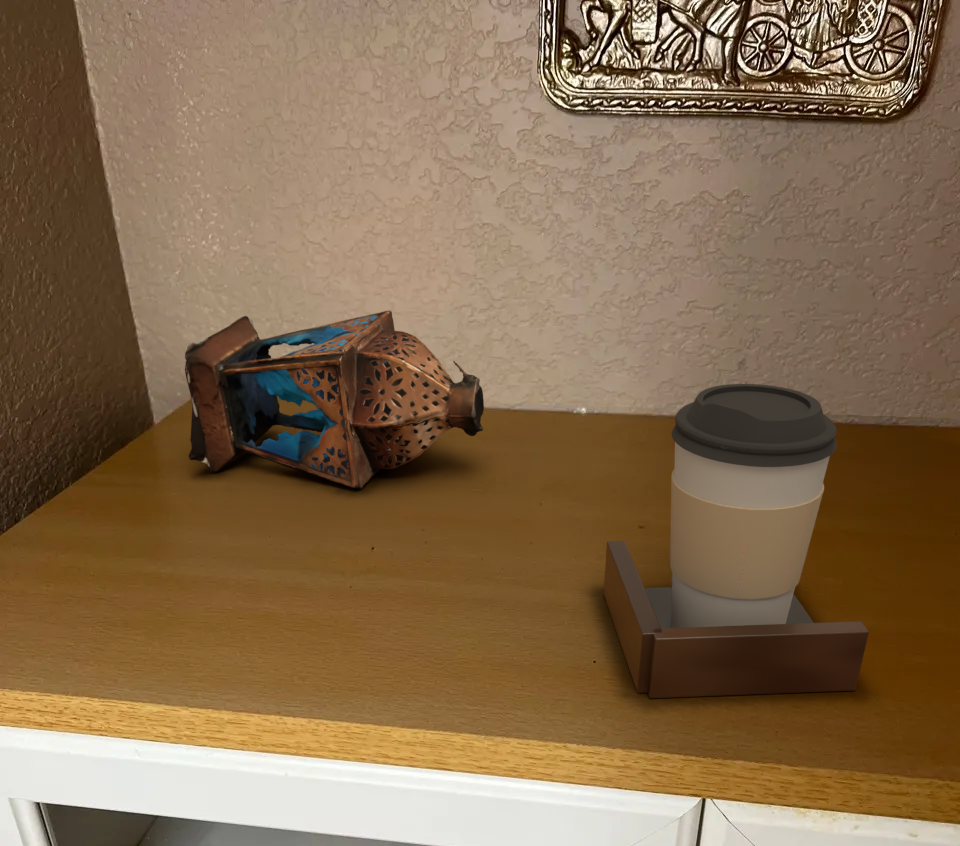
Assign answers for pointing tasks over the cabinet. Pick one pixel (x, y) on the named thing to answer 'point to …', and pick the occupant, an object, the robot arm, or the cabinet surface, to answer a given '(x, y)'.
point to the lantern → (325, 398)
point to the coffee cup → (744, 502)
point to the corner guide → (724, 645)
